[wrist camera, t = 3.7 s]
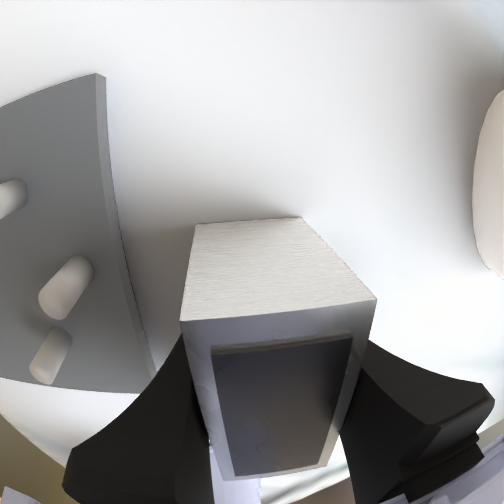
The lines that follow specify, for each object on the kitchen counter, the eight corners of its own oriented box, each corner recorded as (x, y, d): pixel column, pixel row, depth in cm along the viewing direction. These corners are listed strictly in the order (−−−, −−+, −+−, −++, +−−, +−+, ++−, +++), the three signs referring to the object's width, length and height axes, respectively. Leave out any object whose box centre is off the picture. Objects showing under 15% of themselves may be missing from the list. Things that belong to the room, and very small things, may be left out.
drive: (293, 368, 14) (327, 469, 9) (216, 376, 14) (223, 484, 8) (301, 217, 11) (380, 302, 6) (195, 224, 11) (178, 325, 5)
